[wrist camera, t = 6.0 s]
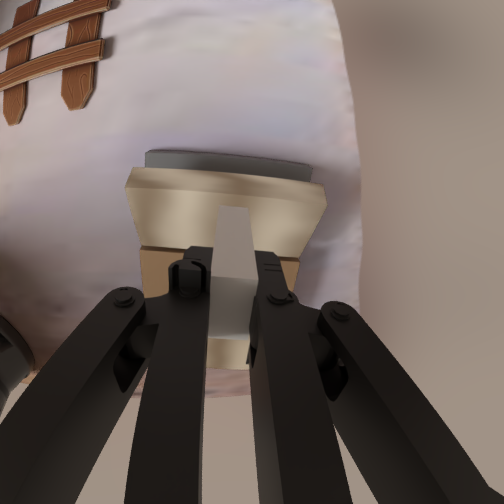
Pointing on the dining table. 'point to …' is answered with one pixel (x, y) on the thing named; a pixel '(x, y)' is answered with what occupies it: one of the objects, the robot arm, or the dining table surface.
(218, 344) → the plank
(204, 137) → the dining table surface
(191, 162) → the floor board
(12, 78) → the decorative fence
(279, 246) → the plank
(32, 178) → the dining table surface
